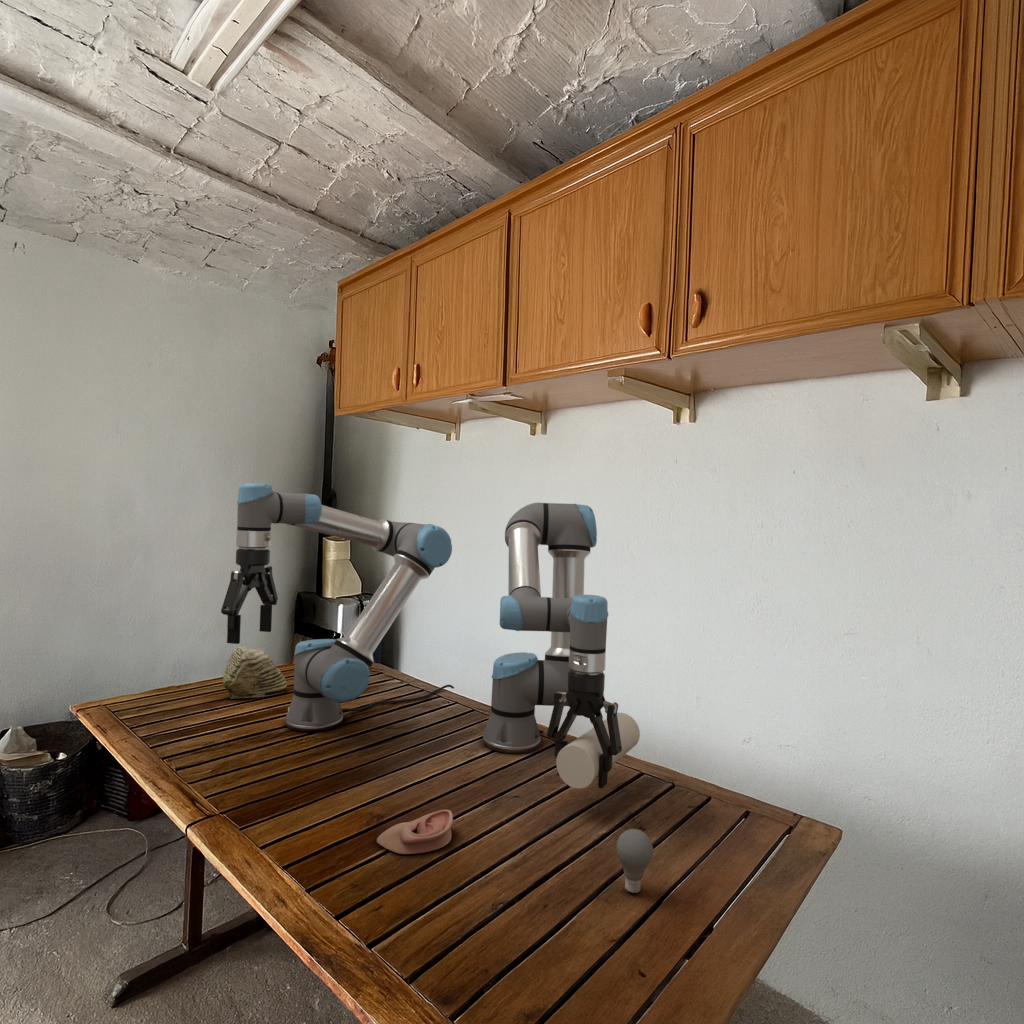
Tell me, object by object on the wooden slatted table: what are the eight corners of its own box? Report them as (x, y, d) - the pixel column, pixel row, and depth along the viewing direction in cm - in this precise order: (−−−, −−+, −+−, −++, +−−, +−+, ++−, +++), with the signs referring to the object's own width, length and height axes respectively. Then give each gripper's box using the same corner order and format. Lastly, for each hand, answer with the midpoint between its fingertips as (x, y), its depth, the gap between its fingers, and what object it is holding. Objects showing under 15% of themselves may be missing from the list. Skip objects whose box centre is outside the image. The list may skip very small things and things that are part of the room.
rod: (604, 744, 153) (606, 709, 153) (638, 753, 148) (640, 716, 148) (554, 782, 130) (557, 740, 130) (593, 794, 126) (595, 751, 126)
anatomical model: (370, 827, 114) (394, 798, 126) (369, 849, 114) (393, 818, 126) (440, 838, 112) (458, 808, 123) (439, 860, 112) (458, 828, 123)
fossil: (218, 695, 195) (220, 647, 195) (278, 685, 208) (279, 640, 207) (228, 703, 189) (230, 653, 188) (289, 692, 201) (290, 645, 201)
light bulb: (610, 879, 108) (613, 822, 108) (644, 879, 109) (647, 822, 109) (619, 902, 102) (622, 840, 102) (655, 901, 103) (658, 840, 103)
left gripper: (237, 553, 138) (234, 650, 138) (293, 545, 162) (290, 628, 163) (205, 551, 139) (202, 647, 139) (266, 544, 164) (263, 625, 164)
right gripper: (532, 665, 134) (528, 771, 134) (628, 684, 122) (623, 801, 122) (550, 658, 140) (545, 760, 140) (642, 676, 128) (637, 787, 128)
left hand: (250, 637), depth 151 cm, fingers open, 13 cm apart
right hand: (581, 779), depth 131 cm, fingers closed on rod, 9 cm apart
